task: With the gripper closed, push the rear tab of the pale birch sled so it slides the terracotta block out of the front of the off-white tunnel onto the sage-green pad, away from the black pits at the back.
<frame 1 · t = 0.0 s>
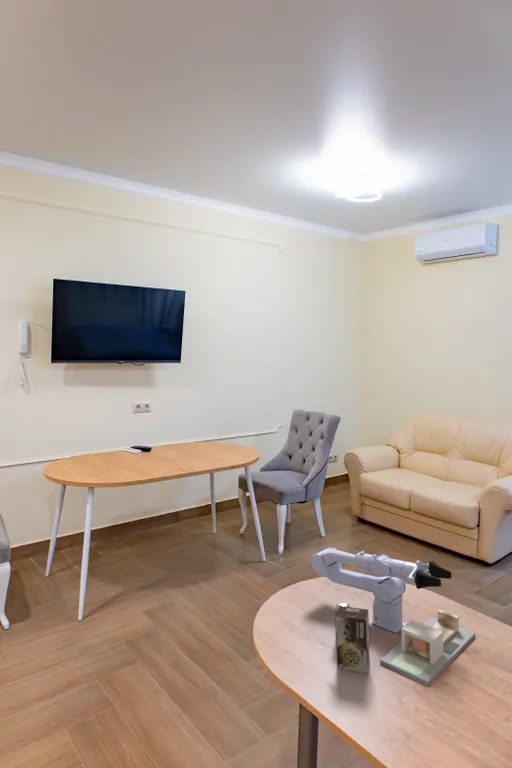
hand: (445, 578, 155), 22 cm above the table, tool horizontal, fingers open, 7 cm apart
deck: (429, 649, 155), on the table
block: (422, 647, 151), point 3 cm above the table, touching sled
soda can: (343, 643, 159), on the table
tunnel: (422, 656, 151), resting on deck
sled: (434, 632, 157), point 4 cm above the table, slide at 0.0 cm, touching block
cookie box: (353, 665, 147), on the table
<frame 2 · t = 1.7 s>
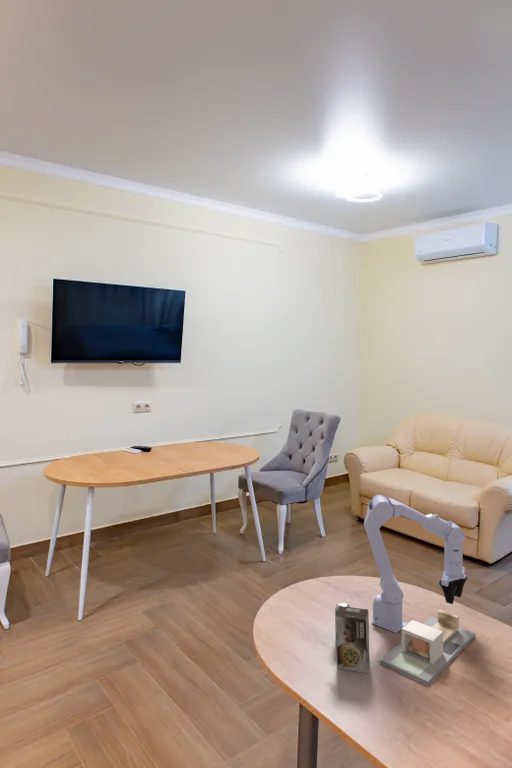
hand: (453, 599, 167), 9 cm above the table, tool pointing down, fingers open, 6 cm apart
nothing on the table moved.
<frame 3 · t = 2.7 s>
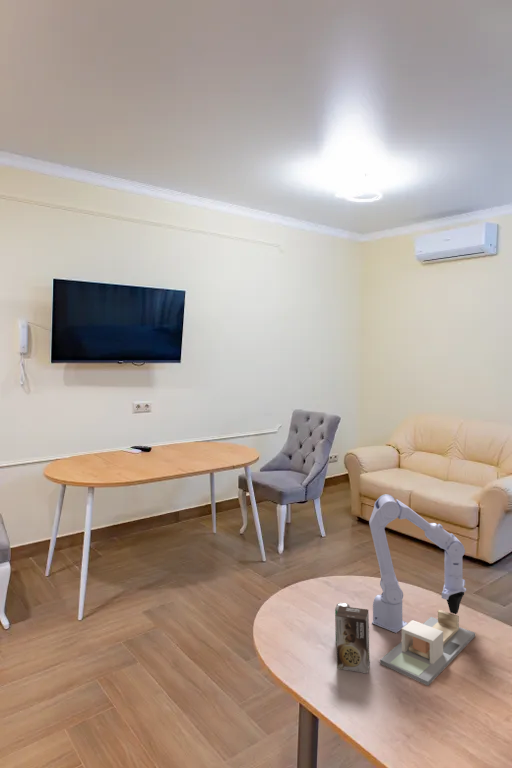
hand: (453, 612, 167), 5 cm above the table, tool pointing down, fingers closed
nothing on the table moved.
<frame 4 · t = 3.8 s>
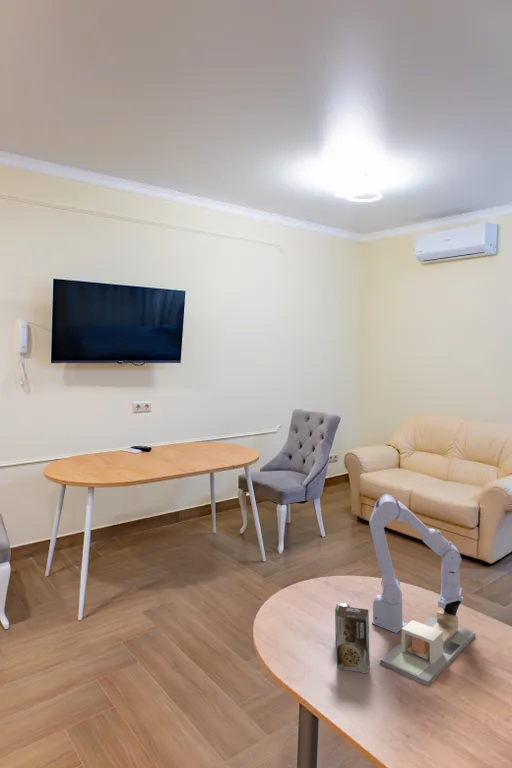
hand: (450, 621, 165), 3 cm above the table, tool pointing down, fingers closed
sled: (433, 633, 156), point 4 cm above the table, slide at 0.7 cm, touching block, gripper
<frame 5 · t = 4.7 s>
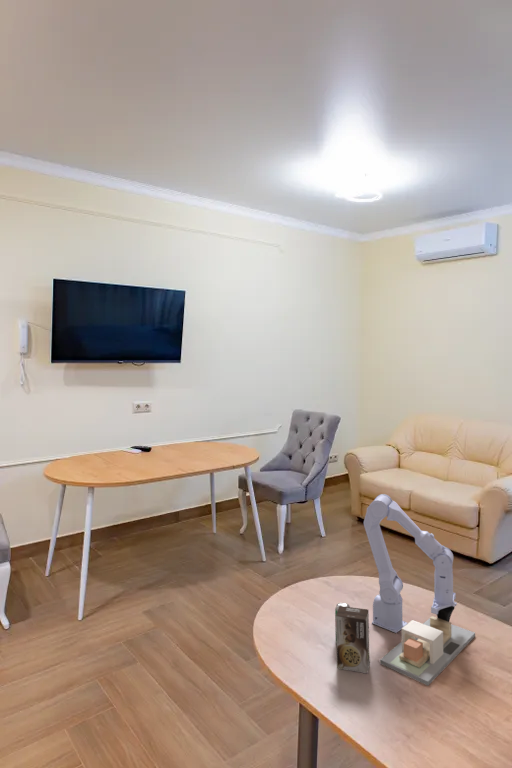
hand: (443, 627, 162), 3 cm above the table, tool pointing down, fingers closed
block: (413, 656, 147), point 3 cm above the table, touching sled
sled: (426, 640, 153), point 4 cm above the table, slide at 5.8 cm, touching block, gripper
everything else where it was.
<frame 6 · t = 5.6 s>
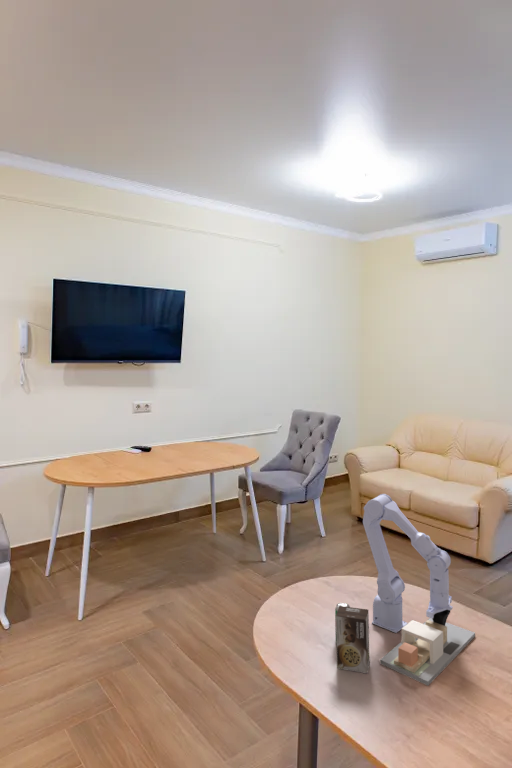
hand: (439, 631, 159), 3 cm above the table, tool pointing down, fingers closed
block: (408, 661, 144), point 3 cm above the table, touching sled
sled: (421, 644, 150), point 4 cm above the table, slide at 9.1 cm, touching block, gripper
everything else where it was.
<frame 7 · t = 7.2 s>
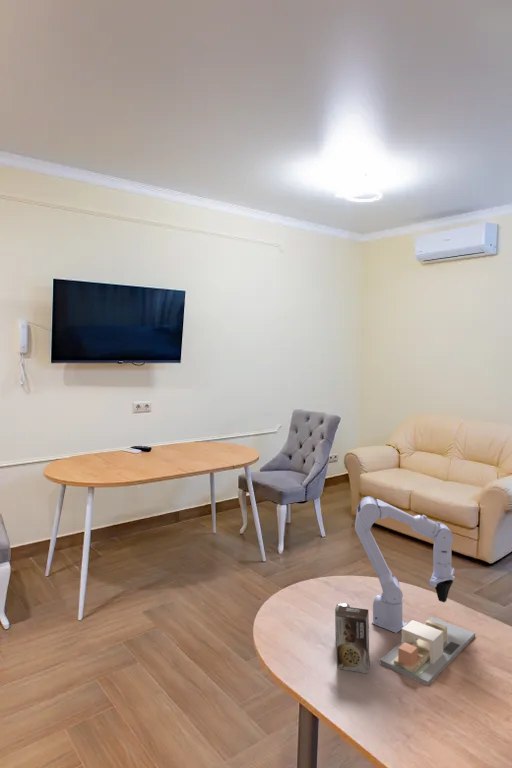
hand: (442, 600, 166), 9 cm above the table, tool pointing down, fingers closed
sled: (421, 644, 150), point 4 cm above the table, slide at 9.1 cm, touching block
everything else where it was.
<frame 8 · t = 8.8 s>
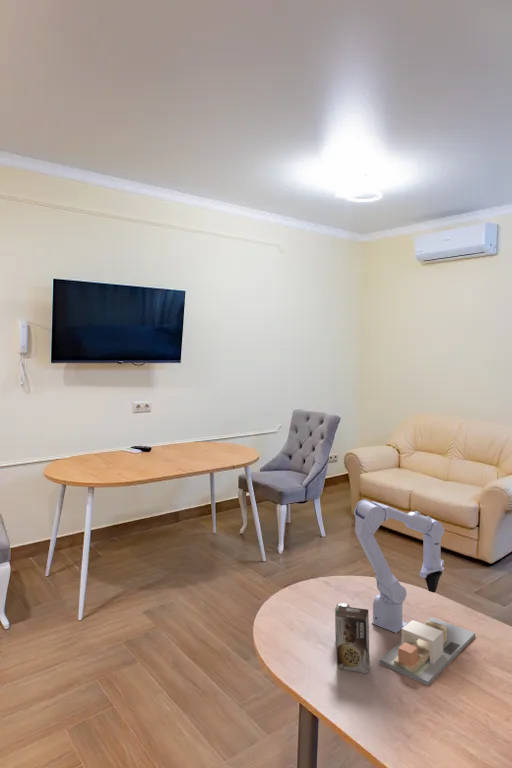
hand: (432, 591, 173), 9 cm above the table, tool pointing down, fingers closed
nothing on the table moved.
at the end: block inside the target area (0.4 cm from its centre), point 2.6 cm above the table; block tilted 0°; sled slide at 9.1 cm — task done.
